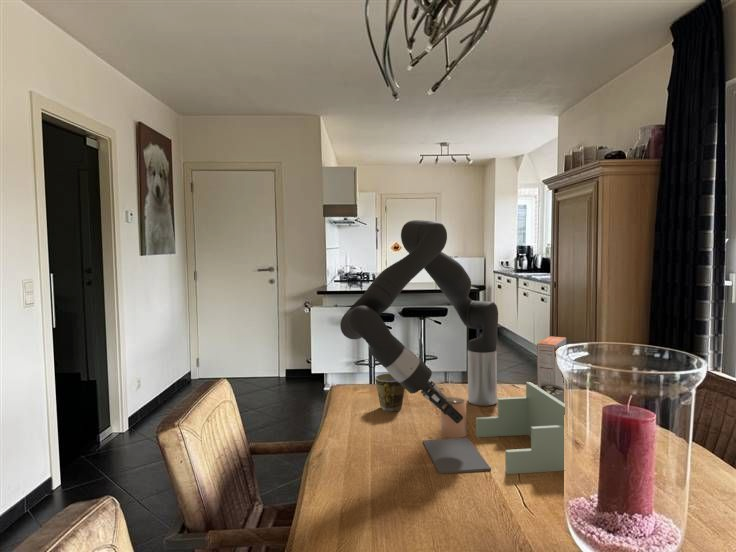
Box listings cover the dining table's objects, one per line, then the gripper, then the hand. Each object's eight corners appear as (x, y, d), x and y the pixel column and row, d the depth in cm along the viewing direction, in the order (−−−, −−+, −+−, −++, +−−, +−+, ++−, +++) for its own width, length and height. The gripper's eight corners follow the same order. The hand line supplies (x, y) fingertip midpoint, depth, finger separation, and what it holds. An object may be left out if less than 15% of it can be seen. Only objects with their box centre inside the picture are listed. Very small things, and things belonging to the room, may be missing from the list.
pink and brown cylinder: (438, 429, 119) (438, 397, 119) (462, 428, 120) (462, 396, 119) (444, 438, 113) (444, 405, 113) (469, 437, 114) (469, 403, 113)
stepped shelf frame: (476, 435, 129) (475, 384, 128) (530, 432, 130) (530, 381, 129) (507, 474, 107) (507, 412, 106) (572, 469, 108) (572, 408, 107)
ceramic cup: (380, 402, 159) (379, 372, 159) (409, 404, 157) (409, 374, 156) (369, 415, 147) (369, 383, 146) (401, 417, 144) (401, 385, 144)
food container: (571, 431, 130) (571, 395, 130) (547, 430, 131) (547, 394, 131) (562, 416, 142) (562, 383, 142) (540, 415, 143) (540, 382, 143)
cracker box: (548, 397, 161) (548, 335, 160) (567, 400, 157) (567, 337, 156) (536, 408, 149) (535, 342, 148) (556, 412, 146) (556, 344, 145)
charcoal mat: (422, 442, 125) (422, 440, 125) (467, 439, 126) (467, 437, 126) (439, 473, 107) (439, 471, 107) (491, 470, 108) (491, 468, 108)
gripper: (424, 364, 108) (476, 414, 109) (413, 351, 122) (459, 395, 124) (401, 389, 108) (453, 438, 109) (392, 373, 122) (439, 417, 123)
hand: (456, 415), depth 116 cm, fingers closed on pink and brown cylinder, 6 cm apart
